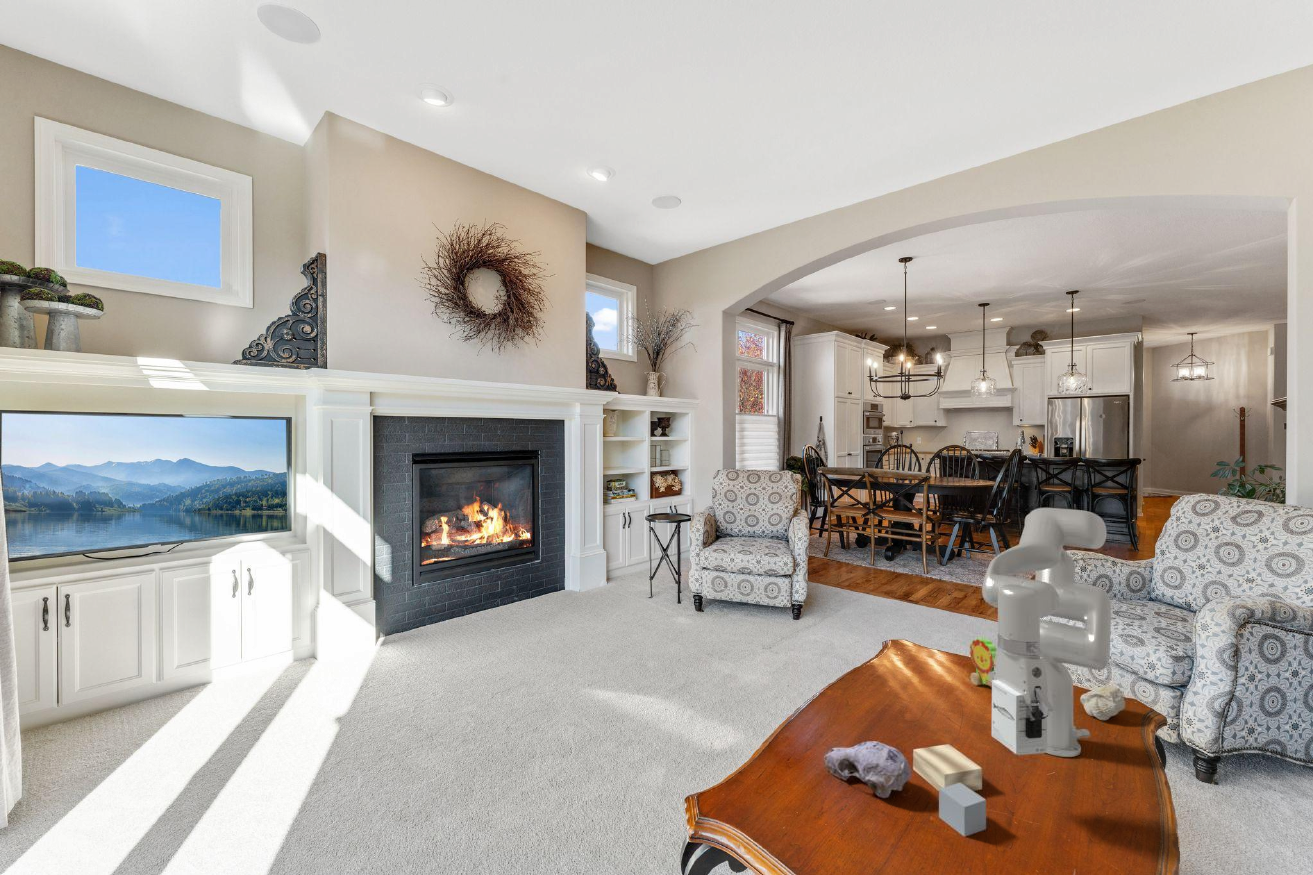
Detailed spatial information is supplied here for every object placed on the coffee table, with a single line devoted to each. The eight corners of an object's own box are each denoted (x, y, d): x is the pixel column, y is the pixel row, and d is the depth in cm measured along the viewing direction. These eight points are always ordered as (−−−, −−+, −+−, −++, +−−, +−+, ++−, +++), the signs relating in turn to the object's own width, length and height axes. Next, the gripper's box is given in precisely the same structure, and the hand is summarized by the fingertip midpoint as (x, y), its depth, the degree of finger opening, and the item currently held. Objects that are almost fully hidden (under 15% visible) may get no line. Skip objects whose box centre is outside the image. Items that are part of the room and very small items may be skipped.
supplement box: (990, 736, 120) (990, 679, 120) (1021, 734, 121) (1021, 677, 121) (1015, 756, 113) (1015, 695, 113) (1048, 753, 113) (1048, 693, 113)
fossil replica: (1081, 719, 154) (1127, 732, 149) (1085, 692, 153) (1131, 704, 148) (1076, 699, 164) (1119, 710, 159) (1079, 673, 164) (1122, 683, 158)
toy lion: (1016, 701, 164) (1016, 651, 164) (1000, 702, 164) (1000, 651, 164) (980, 678, 180) (980, 632, 180) (964, 679, 180) (964, 632, 180)
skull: (818, 777, 130) (815, 733, 131) (847, 762, 137) (844, 720, 138) (895, 811, 115) (891, 761, 116) (923, 792, 122) (919, 745, 123)
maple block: (948, 764, 133) (948, 744, 133) (981, 790, 123) (982, 768, 123) (913, 770, 131) (913, 749, 131) (944, 797, 121) (944, 774, 121)
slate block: (960, 810, 116) (960, 782, 116) (986, 829, 111) (986, 799, 111) (939, 817, 114) (939, 788, 114) (964, 837, 109) (964, 806, 109)
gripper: (1069, 660, 109) (1069, 748, 109) (1003, 629, 126) (1003, 705, 126) (1035, 662, 108) (1035, 751, 108) (973, 630, 125) (973, 708, 125)
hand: (1018, 726), depth 117 cm, fingers closed on supplement box, 7 cm apart
